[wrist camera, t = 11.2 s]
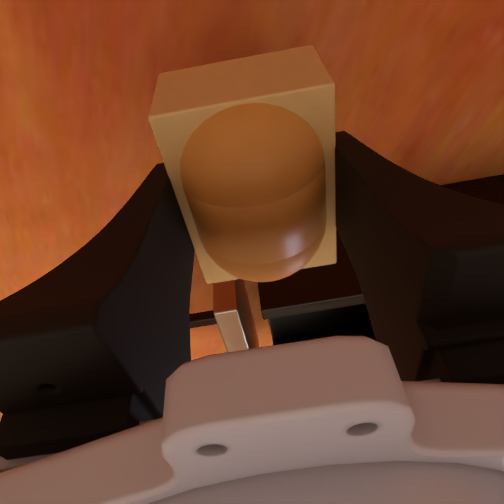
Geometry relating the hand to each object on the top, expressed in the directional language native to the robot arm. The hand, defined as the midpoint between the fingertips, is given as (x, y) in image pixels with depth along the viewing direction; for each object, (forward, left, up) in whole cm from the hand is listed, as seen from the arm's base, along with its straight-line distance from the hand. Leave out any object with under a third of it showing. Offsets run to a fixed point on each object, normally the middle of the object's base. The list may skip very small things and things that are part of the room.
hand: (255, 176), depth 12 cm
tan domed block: (0, 0, -1) cm, 1 cm away
